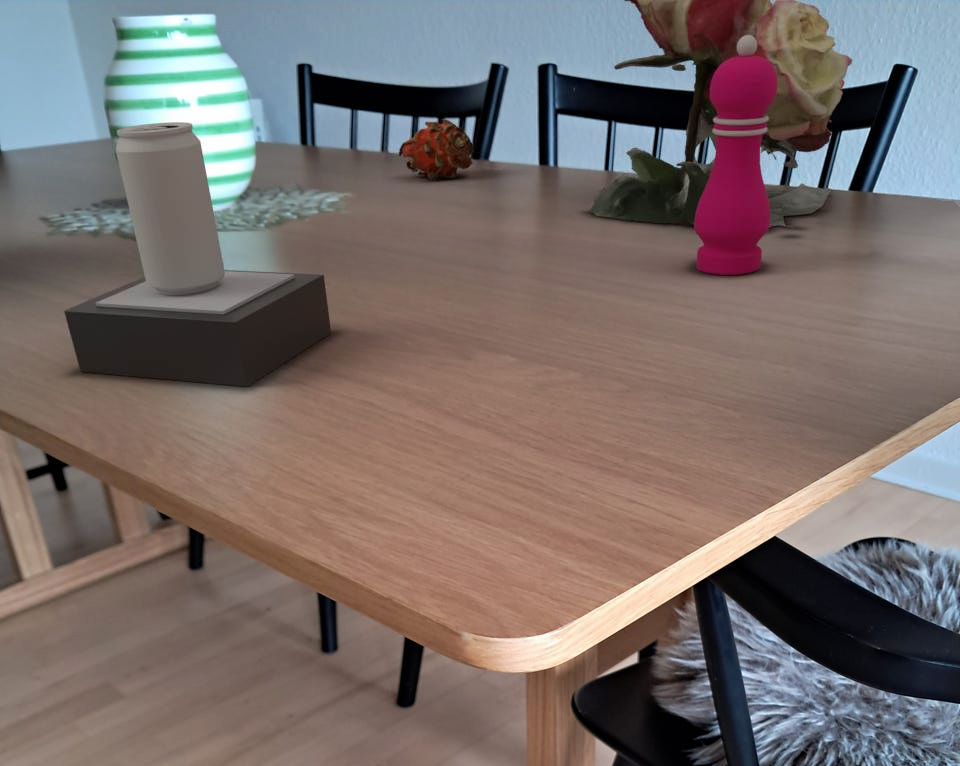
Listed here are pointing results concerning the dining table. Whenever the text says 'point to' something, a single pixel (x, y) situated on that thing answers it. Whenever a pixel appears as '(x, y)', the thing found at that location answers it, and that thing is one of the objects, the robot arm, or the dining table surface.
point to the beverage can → (170, 207)
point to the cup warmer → (201, 328)
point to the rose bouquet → (709, 42)
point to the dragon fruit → (438, 150)
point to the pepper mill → (736, 166)
